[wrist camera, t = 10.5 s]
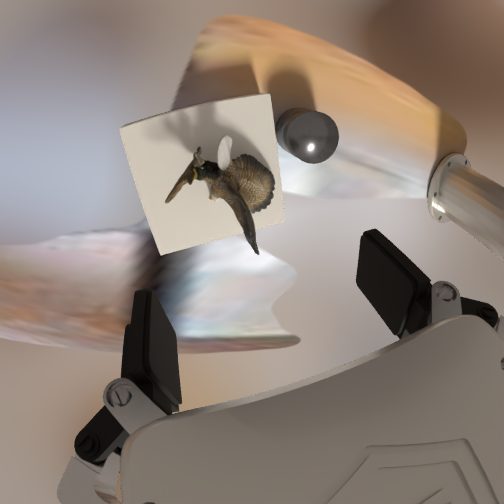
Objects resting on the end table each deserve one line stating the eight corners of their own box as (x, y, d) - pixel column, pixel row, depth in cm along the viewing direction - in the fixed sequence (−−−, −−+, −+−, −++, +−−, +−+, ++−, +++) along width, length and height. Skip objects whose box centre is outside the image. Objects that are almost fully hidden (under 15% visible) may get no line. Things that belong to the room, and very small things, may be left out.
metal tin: (317, 106, 25) (337, 110, 22) (320, 150, 28) (339, 159, 25) (272, 110, 24) (287, 114, 21) (278, 157, 27) (293, 167, 24)
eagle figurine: (158, 211, 23) (244, 259, 26) (168, 191, 16) (282, 259, 19) (200, 143, 24) (276, 192, 27) (224, 107, 18) (319, 174, 21)
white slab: (260, 93, 23) (270, 93, 21) (275, 210, 31) (284, 222, 28) (125, 124, 21) (119, 128, 19) (161, 240, 29) (160, 255, 26)
